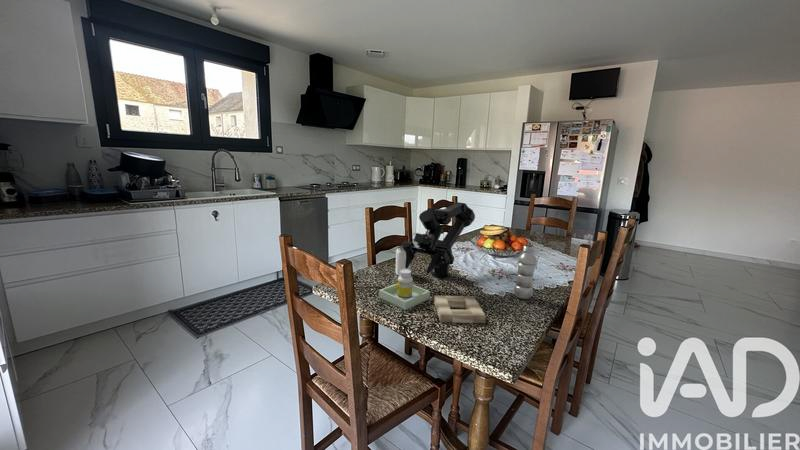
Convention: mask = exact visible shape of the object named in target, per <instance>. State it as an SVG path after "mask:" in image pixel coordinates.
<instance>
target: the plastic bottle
mask: <svg viewBox="0 0 800 450" xmlns="http://www.w3.org/2000/svg"><path fill="white" fill-rule="evenodd" d="M522 251H523V252H522V253H520V254H519V256H518V258H517V277H516V281H515V284H514V288H513V294H514V296H515V297H516V298H518V299H521V300H529V299H531V298H532V296H533V294H534V293H533V291H534V289H533V282H534V281H533V280H534V279H533V278H534V273H535V269H536V266H537V262H538V260H537V257H536V255H535V254H534V253H535V246H534V245H531V244H524V245H523V248H522Z"/></svg>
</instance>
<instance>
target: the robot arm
mask: <svg viewBox="0 0 800 450" xmlns="http://www.w3.org/2000/svg"><path fill="white" fill-rule="evenodd" d="M454 217H455V222H454V223H453V225H452V226H451V227H450V228H449V230H448V232H447V233H446V234H445V236H444V238H443V239H442V240H441V239H440V237H441V235H442V234H443V235H444V233H445V232H444V229H443V226H448V225H449V224H450V223H451V222H452V219H453V218H454ZM475 218H476V214H475V213H474V210H473V209H471V208H470V207H469V206H468V205H467V203H465V202H459V201H458V202H454V204H452V205H449V206H447V207H446V208H437V209H434V208H432V207H427V209H426V210H423V211H422V212H421V213H420V214H419V216H418V219H419V221H420V222H421V224H422V226H423V227H424V229H425V230H426V231H425V233H423V234H421V233H418V232H417V233H415V235H414V239H413V242H414V243H415V242H416V245H417V246H415V244H414V243H413V242H410V241H403V242H402V244H401V245H400V246H401V247H402V248H403V249H404V251H405V252H406V265H405V268H406V269H407V268H408V267H409V265H410V264H411V263H412V262H413V260H414V258H415V257H416V256H415V255H416V253H419V254H424V255H428V256H430V258H431V259H430V263H429V265H428V267H427V269H426V271H425V272H426V275H429V274H430V273H431V275H432V276H433V277H437V278H440V279H442V280H443V279H446V278H449V277H451V276H452V274H451V273H450V272H449V271H450V265H453V264H454V262H455V257H454V254H453V250H452V247H454V245H455V243H456V242H457V240H458V238H459V236H460V235H461V233H462V232H463V231H464V228H467V227H469V226H471V224H473V222H474V221H475ZM442 225H443V226H442ZM432 271H433V272H432Z"/></svg>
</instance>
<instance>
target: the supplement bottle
mask: <svg viewBox="0 0 800 450" xmlns="http://www.w3.org/2000/svg"><path fill="white" fill-rule="evenodd" d="M397 283H398V292H397V296H398V298H401V299H404V300H407V299H410V298H412V290H413V285H414V284H413V283H414V279H413V277H412V271H411V269H410V270H408V269H403V270H400V276H398V277H397Z"/></svg>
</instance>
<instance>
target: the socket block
mask: <svg viewBox="0 0 800 450" xmlns="http://www.w3.org/2000/svg"><path fill="white" fill-rule="evenodd" d="M433 297H434V298H433V303H434V306H435V310H436V312H437V315H438V319H439V322H440V323H451V324H452V323H453V324H454V323H456V324H457V323H459V324H460V323H461V324H462V323H465V324H466V323H468V324H469V323H470V324H485V322H486V314H485V313H484V310H483V309H482V307H481V306H480V304H479V302H478V301H477V300H476V297H475V296H473V295H471V296H470V295H434V296H433ZM451 308H452V309H451ZM453 308H455V309H453ZM456 308H458V309H456ZM459 308H462V309H459ZM463 308H464V309H463Z"/></svg>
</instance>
